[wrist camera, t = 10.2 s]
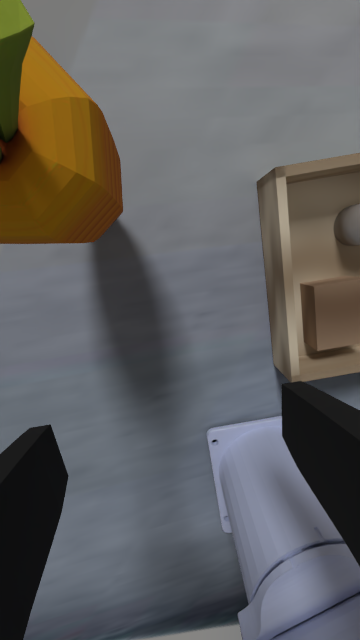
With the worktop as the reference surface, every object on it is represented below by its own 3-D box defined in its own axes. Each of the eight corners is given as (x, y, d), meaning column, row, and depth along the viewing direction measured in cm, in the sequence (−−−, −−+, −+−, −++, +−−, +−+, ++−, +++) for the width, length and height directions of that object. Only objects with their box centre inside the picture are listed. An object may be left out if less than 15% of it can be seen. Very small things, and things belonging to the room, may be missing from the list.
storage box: (399, 342, 20) (438, 358, 17) (273, 364, 20) (291, 383, 17) (403, 156, 17) (451, 137, 14) (256, 181, 17) (275, 167, 14)
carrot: (154, 184, 17) (76, -252, 2) (127, 263, 18) (-52, 313, 3) (73, 148, 16) (-764, -775, 2) (49, 232, 17) (-603, 125, 3)
